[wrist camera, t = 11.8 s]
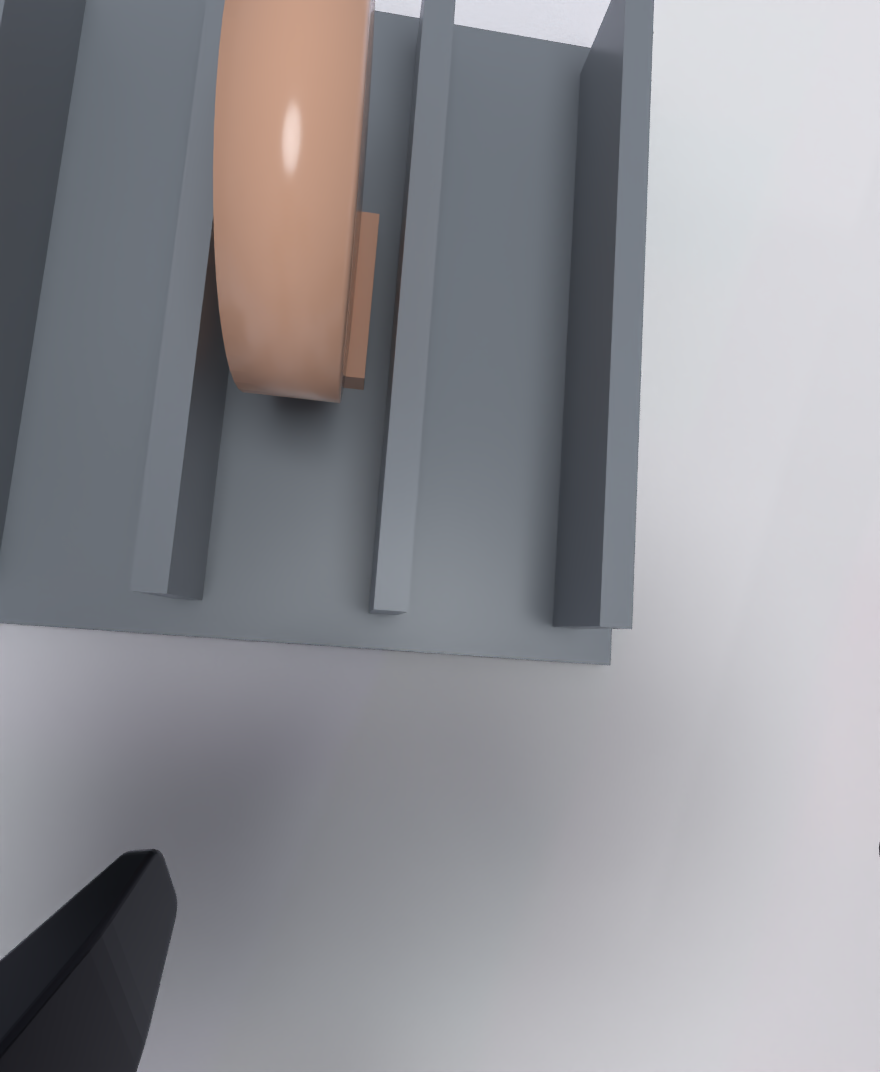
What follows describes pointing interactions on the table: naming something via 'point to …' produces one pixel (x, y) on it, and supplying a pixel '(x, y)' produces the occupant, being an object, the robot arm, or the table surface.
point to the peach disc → (294, 195)
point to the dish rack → (392, 355)
